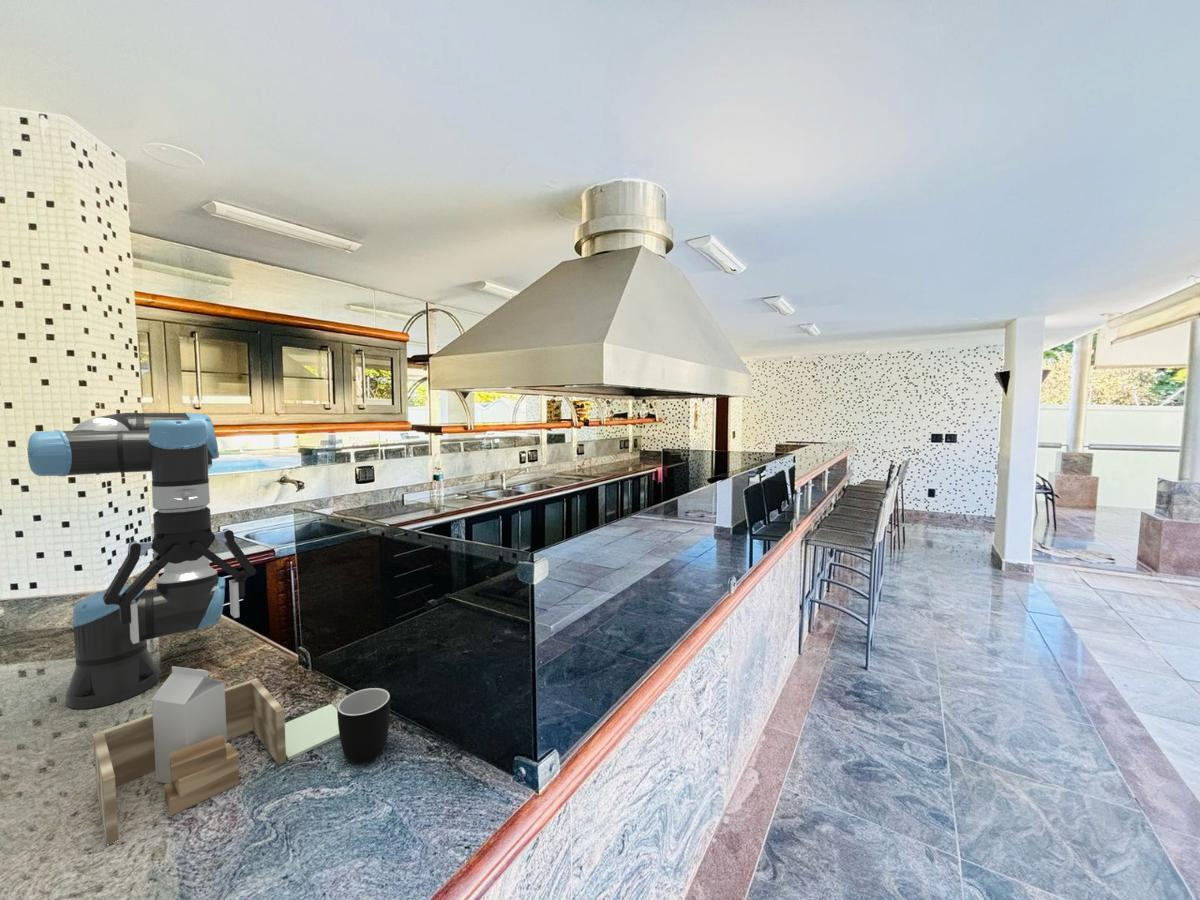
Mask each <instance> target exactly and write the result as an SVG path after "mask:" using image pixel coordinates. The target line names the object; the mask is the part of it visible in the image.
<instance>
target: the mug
mask: <svg viewBox="0 0 1200 900" xmlns="http://www.w3.org/2000/svg"><path fill="white" fill-rule="evenodd" d="M336 709H337V715H338V727H339V734H340V737H339V740H340V745H341V749H342V752H343V754H344V757H345V758H346V760H347V761H349V762H350V763H352V764H364V763H368V762H370V761H372V760H375V758H377V757H378V756H380V755H381V754H382V753H383V751H384V749H385V746H386V743H387V740H388V734H389V728H390V717H391V716H390V715H391V695H390V693H389V692H388V690H386V689H385V688H379V687H378V688H377V687H374V688H373V687H369V688H364V689H360V690H357V691H354V692H352V693H349V694H348V695H347V696H345V697H343V698H342V699H341V700H340V701H339V703H338V704H337V707H336Z"/></svg>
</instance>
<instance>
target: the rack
mask: <svg viewBox="0 0 1200 900" xmlns="http://www.w3.org/2000/svg"><path fill="white" fill-rule="evenodd" d="M225 707H226V730H227V742H228V741H230V740H233V739H235V738H237V737H241V736H243V735H245V734H247V733H250V732H252V731H253V732H254V733H255V735H256V736H257V737H258V739H259V740H260V742H261V743H262V744H263V746H264V747H265V748H266V750H267V751H268V753H269V754H270V755H271V757H272V758H273V760H274V761H275V763H276V764H277V765H278V766H280V765H282V764H284V763H286V762H287V758H286V744H285V723H286V722H285V721H286V720H285V717H286V716H285V708H284V707H282V705H281V704H280V703H279V701H278V700H276V699H275V697H274V696H273V695H272V694H271V693H270V692H269V690H267V688H266V687H265V686H264V685H263V684H262V683H261V682H260V681H259V680H258V679H257V677H255V678H253V679H250V680H247V681H243V682H241V683H238V684H235V685H232V686H229V687H227V688H226V687H225ZM92 736H93V737H92V738H93V753H94V771H95V785H96V795H97V799H98V805H99V809H100V815H101V820H102V826H104V827H103V831H105V832H104V836H106V837H105V840H106V841H107V842H106V845H107V844H110V843H113V842H115V841H117V840H120V839H119V823H118V805H117V791H116V790H117V789H116V787H119V786H120V785H122V784H125V783H127V782H130V781H132V780H135V779H137V778H140V777H142V776H145V775H147V774H150V773H152V772H156V769H155V750H154V731H153V713H151V714H148V715H145V716H142V717H138V718H135V719H133V720H130V721H127V722H124V723H122V724H118V725H115V726H112V727H109V728H106V729H104V730H100V731H97V732H95V733H93V735H92ZM117 842H118V841H117ZM115 843H116V842H115ZM113 844H114V843H113Z"/></svg>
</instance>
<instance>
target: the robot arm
mask: <svg viewBox="0 0 1200 900" xmlns="http://www.w3.org/2000/svg"><path fill="white" fill-rule="evenodd" d="M219 457H220V452H219V445H218V441H217V436H216V431H215V428H214V424H213V421H212V419H211V417H210V416H208V415H207V414H204V413H192V412H191V413H190V412H122V413H120V412H119V413H113V414H109V415H108V414H107V415H102V416H98V417H94V418H89V419H86V420H84V421H82V422H80V423H78V424H77V425H76V426H75V427H74V428H73V430H59V429H56V430H55V429H54V430H49V431H48V430H47V431H45V430H44V431H35V432H33V433H32V434H31V435H30V436H29V439H28V442H27V458H28V464H29V468H30V470H31V472H32V473H33V474H34V475H36V476H39V477H51V476H52V477H54V476H55V477H67V476H82V475H96V474H97V475H99V474H114V473H115V474H117V473H121V474H122V473H144V472H149V473H150V472H151V492H152V493H151V495H152V496H151V497H152V498H151V499H152V500H151V501H152V508H153V509H154V510H157V511H155V512H154V513H153V515H152V517H153V519H152V520H153V539H152V540H151V541H148V542H147V541H146V542H145V541H144V542H138V541H136V540H135V541H131V542H129V543H128V546H127V547H128V548H127V555H126V556H125V559H124V561H123V562H122V564H121V566H120V568H119V569H118V571H117V572H116V573H115V576H114V578H113V579H112V581H111V583H110V585H109V586H108V588H107V589H105V590H102V591H98V592H95V593H94V594H90V595H88V596H87V597H84V598H82V599H80V600H79V601H78V602H77V603H76V604H75V606H74V607H73V610H72V613H73V614H72V615H73V616H72V622H71V626H72V627H73V638H74V655H75V656H74V657H75V658H74V659H75V668H74V671H73V673H72V677H71V679H70V681H69V684H68V688H67V690H66V691H65V704H66V706H67V707H68V708H71V709H79V710H80V709H81V710H82V709H92V708H94V709H95V708H100V707H104V706H107V705H112V704H116V703H118V702H121V701H122V702H123V701H125V700H128V699H130V698H133V697H135V696H137V695H139V694H141V693H143V692H145V691H147V690H149V689H150V688H152V687H153V686H154V685H155V684H156V683H157V682H159V681H158V680H159V679H160V678H159V676H160V675H159V668H158V666H157V664H156V663H155V661H154V659H153V657H152V655H151V654H150V652H149V651H148V643H147V642H148V640H152V639H156V638H161V637H166V636H170V635H174V634H180V633H183V632H188V631H189V632H190V631H193V630H195V631H197V630H200V629H204V628H206V627H210V626H214V625H216V624H217V623H219V622H220V620H221V618H222V615H223V609H224V602H225V592H226V591H225V589H226V579H225V577H221V576H218V571H217V570H216V569H215V568H213V567H212V566H210V561H211V562H212V563H213V564H214V565H216V567H219V568H220V569H222V570H223V571H224V572H226V573H227V574H228V575H230V576H231V577H232V578H234V579H231V580H229V581H228V583H229V584H228V585H229V609H230V612H229V613H230V615H231V616H232V618H234V619H237V618H240V598H244V597H245V596H246V584H245V583H246V581H247V578H249V577H252V576H255V575H256V574H257V570H256V568H255V566H254V565H252V563H251V561H250V559H248V557H247V556H246V554H245V553H244V551H242V549H241V548H240V546H239V545H238V544H237V543H236V541H235V534H234V532H233V530H231V529H229V528H224V529H222V530H221V531H218V532H213V531H212V521H211V520H212V517H211V509H210V507H208V506H209V504H210V502H211V499H210V497H211V496H210V485H209V484H210V482H209V480H210V478H209V469H210V468H211V467H213V460H216V459H218V458H219ZM215 540H218V541H219V542H220V543H222V544H224V545H225V547H227V549H228V550H229V552H230V553H231V555H233V557H234V558H235V560H236V561H237V562H238V564H239V565H240V566H241V568H242V569H243V570H241V571H239V570H237V569H236V568H234V567H233V566H232V565H230V564H229V563H228V562H227V561H225V560H224V559H222V558H221V557H220V556H218V555H217V554H216V553H215V552H213V551H212V550H210V547H211V545H212V544H213V543H214V542H215ZM148 550H152V551H154V552H155V554H157V555H156V556H155V557H154V558H153V559H152V561H151V563H150V564H148V566H147V567H146V568H145V569H144V570H143V571H142V572H141V573H140V574H139V575H138V577H137V578H136V579H135V580H133V582H132V583H130V584H127V583H126V582H127V581H128V580H129V578H130V576H131V574H132V573H133V571H134V569H135V567H136V566H137V564H138V562H139V560H140V557H142V556H144V555H146V553H147V551H148ZM161 570H163V571H164V572H163V574H162V575H161V576H160V577H159V578H157V580H155V581H156V582H155V583H156V587H155V588H149V589H146V586H147V585H148V584H149V583H150V582H151V581H152V580H153V579H154V577H155V576H156V575H158V573H160V571H161Z"/></svg>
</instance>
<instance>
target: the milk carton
mask: <svg viewBox="0 0 1200 900" xmlns="http://www.w3.org/2000/svg"><path fill="white" fill-rule="evenodd" d="M209 675H210V671H209V670H206V669H201V668H197V669H195V668H189V667H183V666H176V665H175V666H173V665H172V666H171V673H170V674H169V676H168V677H167V678H166V680H165V681H164V682H163V684H162V685H161V686H160V688H159V689H158V690H157V691H156V693H155V694H154V696H152V698H151V707H152V709H151V710H152V711H151V712H152V714H153V731H154V750H155V769H156V770H155V781H156V782H158V783H161V784H165V785H166V784H168V783H170V782H171V771H170V755H169V753H171V752H174V751H177V750H179V749H182V748H185V747H188V746H191V745H194V744H196V743H199V742H202V741H205V740H208V739H210V738H213V737H216V736H219V735H222V734H223V738H224V741H225V744H226V743H228V741H227V730H226V707H225V689H226V687H225V686H226V685H225V681H222V680H218V679H215V678H212V677H209Z"/></svg>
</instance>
